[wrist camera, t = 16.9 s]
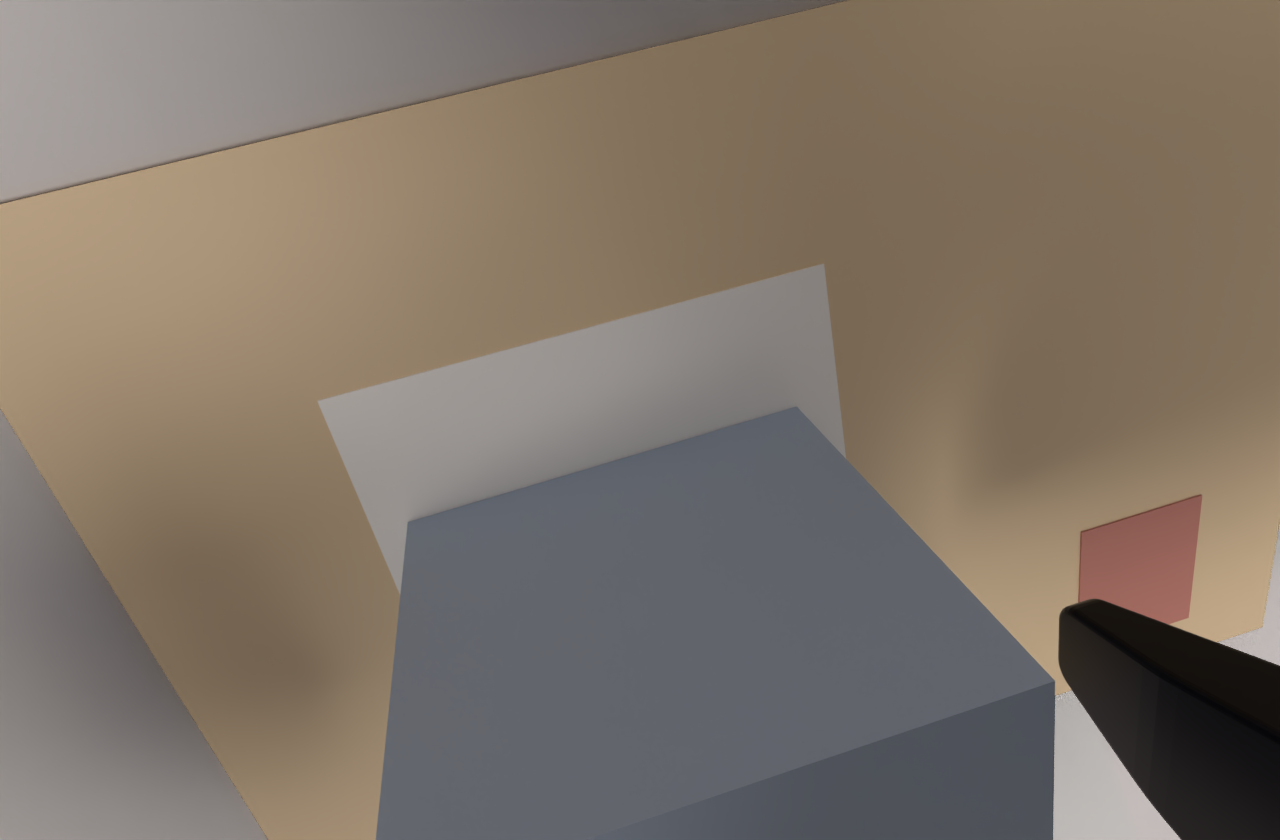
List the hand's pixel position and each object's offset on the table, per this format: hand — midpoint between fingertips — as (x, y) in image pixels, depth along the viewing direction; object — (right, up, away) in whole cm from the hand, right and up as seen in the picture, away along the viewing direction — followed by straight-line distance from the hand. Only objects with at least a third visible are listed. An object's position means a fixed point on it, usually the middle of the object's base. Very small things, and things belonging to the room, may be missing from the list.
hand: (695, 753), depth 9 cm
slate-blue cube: (-1, +1, +2) cm, 2 cm away
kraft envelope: (+1, +3, +2) cm, 4 cm away
